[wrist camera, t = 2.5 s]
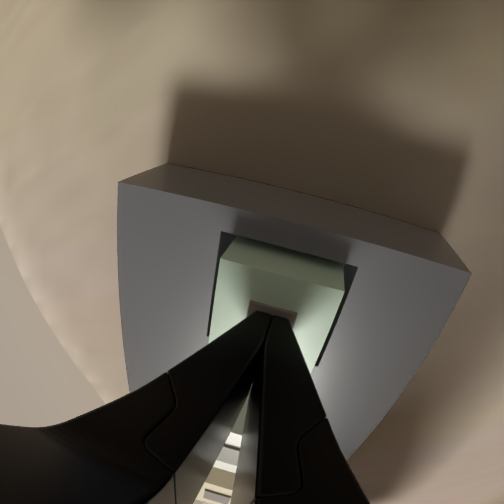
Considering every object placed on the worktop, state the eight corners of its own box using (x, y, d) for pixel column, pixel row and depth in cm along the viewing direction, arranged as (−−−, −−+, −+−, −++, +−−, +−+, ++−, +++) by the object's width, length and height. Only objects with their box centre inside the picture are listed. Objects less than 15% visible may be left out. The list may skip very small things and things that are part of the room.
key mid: (277, 427, 12) (263, 482, 10) (208, 408, 12) (186, 459, 10) (296, 384, 11) (284, 448, 8) (215, 362, 11) (188, 421, 9)
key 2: (255, 471, 14) (243, 514, 12) (201, 456, 15) (185, 496, 12) (267, 448, 13) (254, 497, 10) (205, 430, 13) (185, 477, 11)
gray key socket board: (315, 457, 16) (309, 498, 14) (160, 413, 18) (140, 448, 15) (439, 233, 10) (471, 273, 7) (166, 163, 11) (118, 181, 8)
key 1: (315, 322, 11) (308, 380, 8) (232, 300, 11) (206, 351, 9) (341, 246, 10) (344, 293, 7) (247, 221, 10) (219, 260, 7)
